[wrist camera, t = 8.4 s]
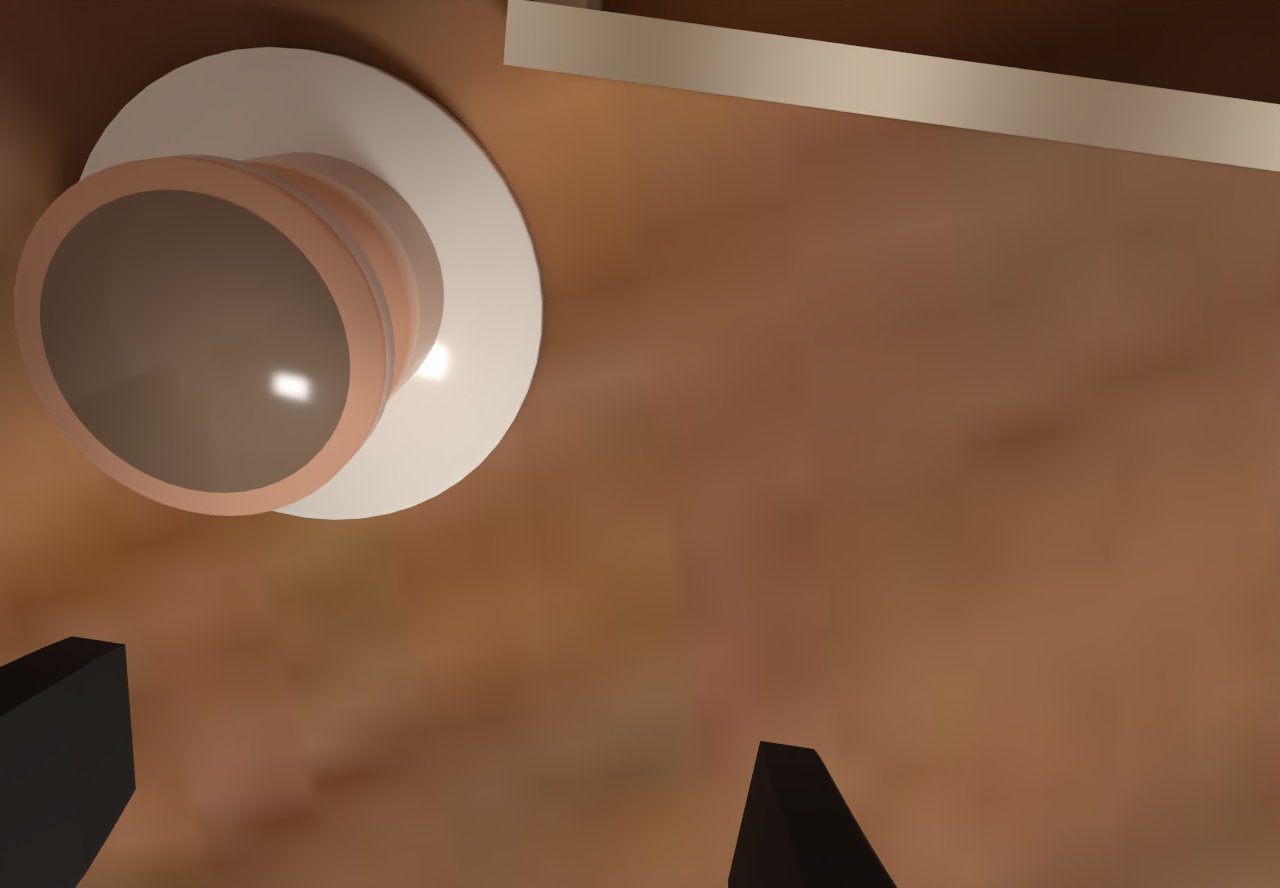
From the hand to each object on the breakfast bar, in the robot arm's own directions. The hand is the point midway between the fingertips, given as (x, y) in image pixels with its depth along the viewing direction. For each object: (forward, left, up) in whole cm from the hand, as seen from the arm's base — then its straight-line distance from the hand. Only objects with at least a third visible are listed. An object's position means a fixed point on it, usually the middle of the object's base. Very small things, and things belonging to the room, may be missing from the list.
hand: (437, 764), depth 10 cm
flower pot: (+5, -3, -9) cm, 10 cm away
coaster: (+5, -3, -9) cm, 11 cm away
